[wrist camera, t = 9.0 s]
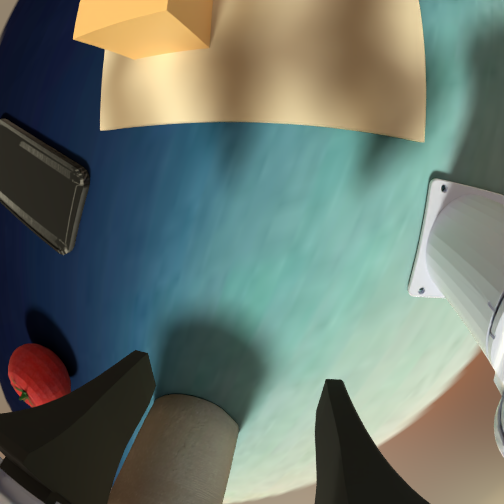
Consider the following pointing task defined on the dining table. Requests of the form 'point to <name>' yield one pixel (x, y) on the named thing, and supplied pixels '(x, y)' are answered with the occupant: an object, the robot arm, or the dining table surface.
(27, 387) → the tomato
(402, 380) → the dining table surface
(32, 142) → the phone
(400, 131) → the board
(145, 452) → the pillar candle
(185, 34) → the tan foam cube
